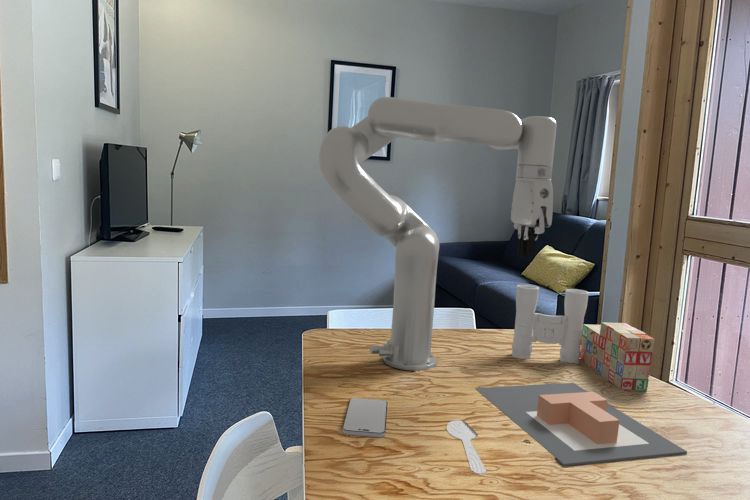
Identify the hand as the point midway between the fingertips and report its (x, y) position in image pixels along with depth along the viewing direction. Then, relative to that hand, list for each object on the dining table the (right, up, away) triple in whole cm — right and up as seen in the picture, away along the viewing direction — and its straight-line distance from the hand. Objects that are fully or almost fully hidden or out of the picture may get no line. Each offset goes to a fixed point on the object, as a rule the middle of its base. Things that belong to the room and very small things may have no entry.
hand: (525, 257), depth 123 cm
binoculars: (+9, -26, +16) cm, 32 cm away
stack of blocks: (+22, -28, +8) cm, 37 cm away
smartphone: (-35, -29, -24) cm, 52 cm away
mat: (+3, -30, -19) cm, 36 cm away
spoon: (-18, -31, -32) cm, 48 cm away
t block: (+4, -30, -24) cm, 39 cm away
